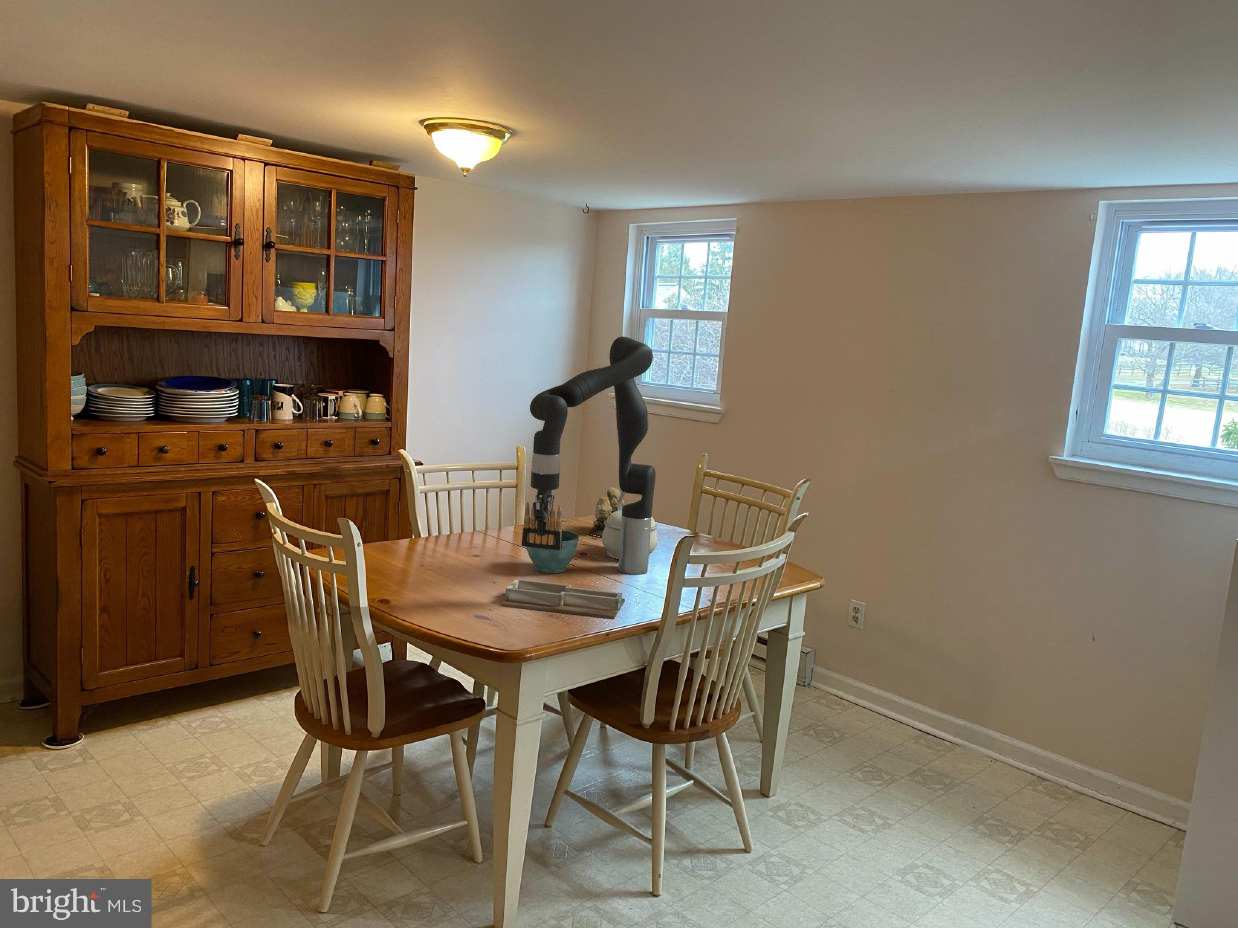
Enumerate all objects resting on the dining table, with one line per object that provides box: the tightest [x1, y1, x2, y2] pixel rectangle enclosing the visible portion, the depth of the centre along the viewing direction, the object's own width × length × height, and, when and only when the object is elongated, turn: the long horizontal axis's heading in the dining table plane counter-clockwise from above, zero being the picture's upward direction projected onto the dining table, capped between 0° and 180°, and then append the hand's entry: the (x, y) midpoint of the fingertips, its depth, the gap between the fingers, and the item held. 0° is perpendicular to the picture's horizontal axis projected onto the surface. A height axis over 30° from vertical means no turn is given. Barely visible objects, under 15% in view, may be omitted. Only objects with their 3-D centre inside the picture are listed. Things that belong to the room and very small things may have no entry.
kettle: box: [601, 491, 659, 560], centre depth 302 cm, size 25×18×25 cm
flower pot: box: [526, 529, 580, 574], centre depth 279 cm, size 16×16×11 cm
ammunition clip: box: [520, 501, 563, 550], centre depth 244 cm, size 11×2×12 cm, turn 80°
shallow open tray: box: [501, 578, 626, 620], centre depth 246 cm, size 16×30×4 cm, turn 80°
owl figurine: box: [588, 487, 625, 537], centre depth 333 cm, size 18×12×17 cm, turn 158°
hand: (542, 534), depth 245 cm, fingers closed on ammunition clip, 2 cm apart
